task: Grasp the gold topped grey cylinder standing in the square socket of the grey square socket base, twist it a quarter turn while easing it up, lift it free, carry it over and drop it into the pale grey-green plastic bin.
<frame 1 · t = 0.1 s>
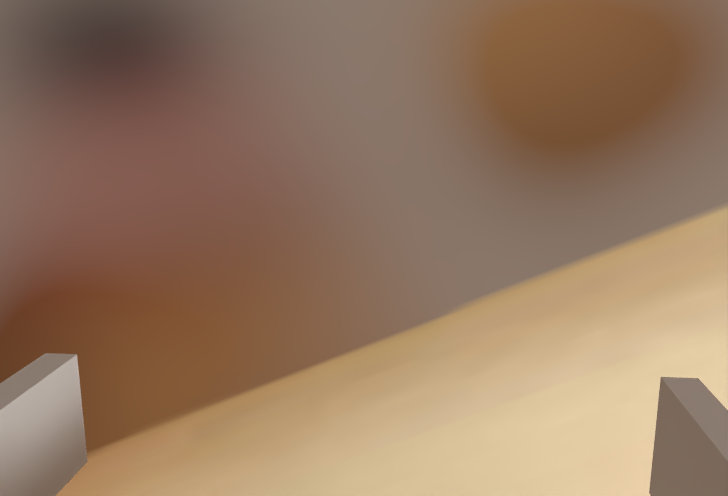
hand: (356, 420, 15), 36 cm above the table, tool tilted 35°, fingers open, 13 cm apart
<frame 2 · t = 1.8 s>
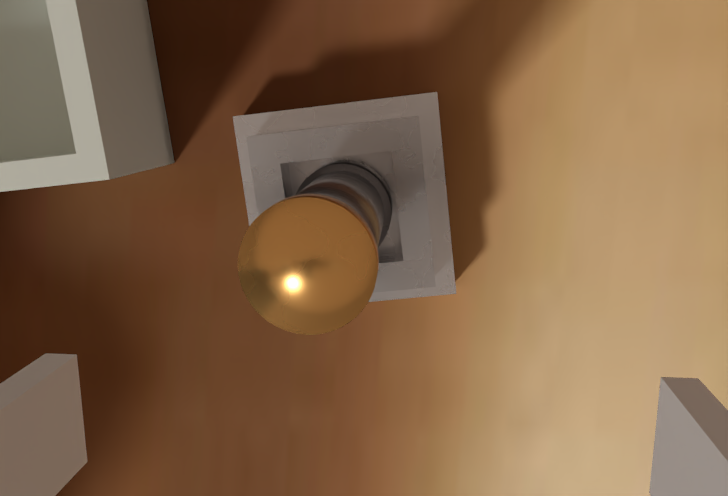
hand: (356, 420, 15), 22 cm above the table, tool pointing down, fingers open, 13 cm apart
grey square socket base: (349, 200, 36), on the table
gold topped grey cylinder: (346, 206, 34), point 2 cm above the table, touching grey square socket base
bin: (20, 43, 36), on the table
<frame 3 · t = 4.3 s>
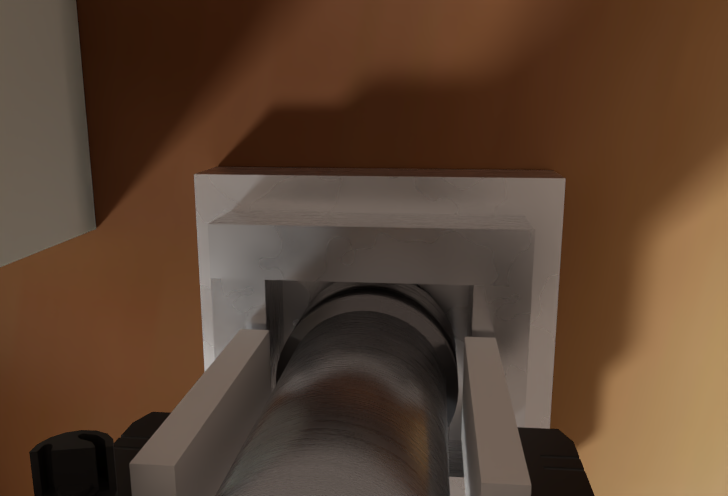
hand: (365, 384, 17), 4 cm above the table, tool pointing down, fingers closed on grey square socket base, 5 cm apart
grey square socket base: (379, 328, 22), on the table
gold topped grey cylinder: (374, 351, 20), point 2 cm above the table, touching grey square socket base
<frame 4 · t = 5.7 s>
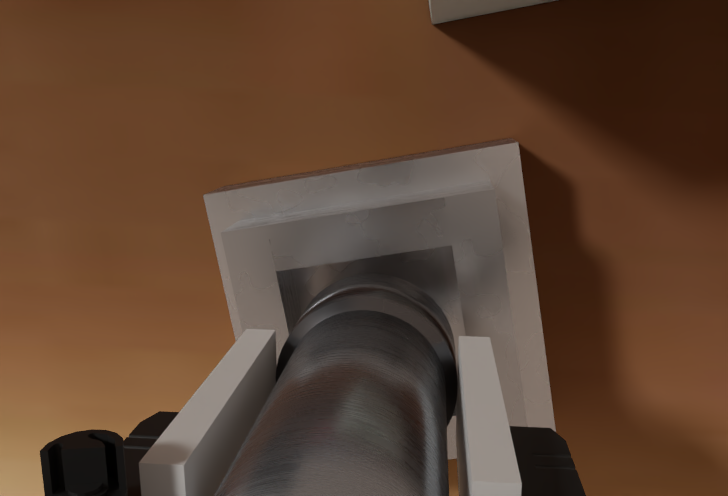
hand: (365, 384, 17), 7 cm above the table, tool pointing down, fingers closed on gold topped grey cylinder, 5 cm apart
grey square socket base: (387, 303, 24), on the table
gold topped grey cylinder: (373, 351, 20), point 5 cm above the table, touching gripper
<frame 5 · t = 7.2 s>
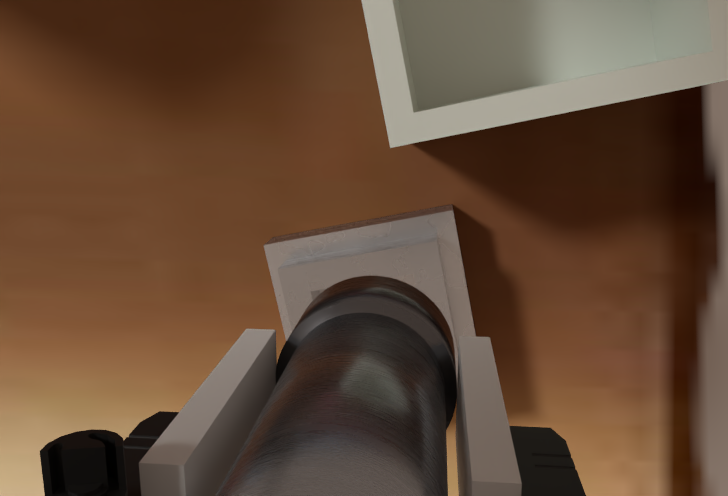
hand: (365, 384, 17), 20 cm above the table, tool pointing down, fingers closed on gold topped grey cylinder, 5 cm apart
grey square socket base: (378, 308, 38), on the table
gold topped grey cylinder: (373, 353, 20), point 18 cm above the table, touching gripper
when the fingers open (9 cm above the table, at t = 9.9 s): gold topped grey cylinder drops 5 cm, point 1 cm above the table.
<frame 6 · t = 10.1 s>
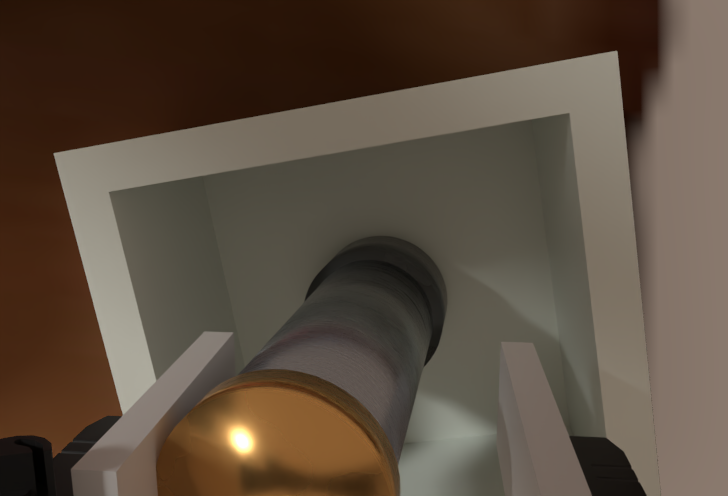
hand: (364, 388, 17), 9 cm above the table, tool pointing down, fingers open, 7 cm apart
gold topped grey cylinder: (382, 298, 25), point 1 cm above the table, touching gripper
bin: (389, 289, 26), on the table
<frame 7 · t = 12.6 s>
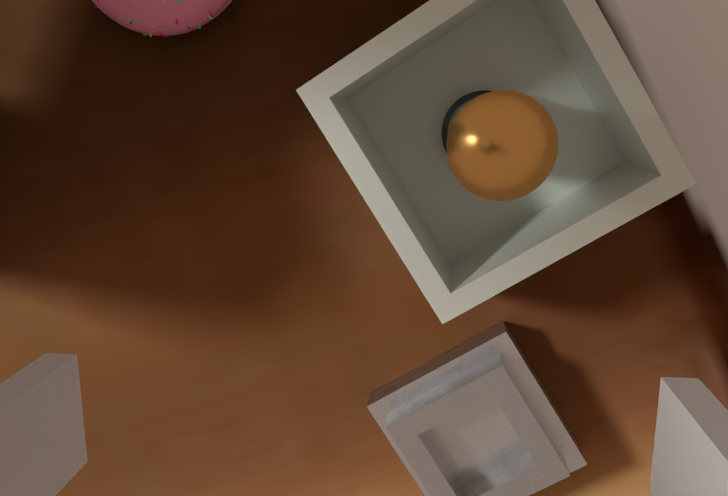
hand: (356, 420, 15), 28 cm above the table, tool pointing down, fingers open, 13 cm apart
grey square socket base: (474, 420, 45), on the table
gold topped grey cylinder: (481, 131, 40), point 1 cm above the table, touching bin
bin: (484, 128, 41), on the table
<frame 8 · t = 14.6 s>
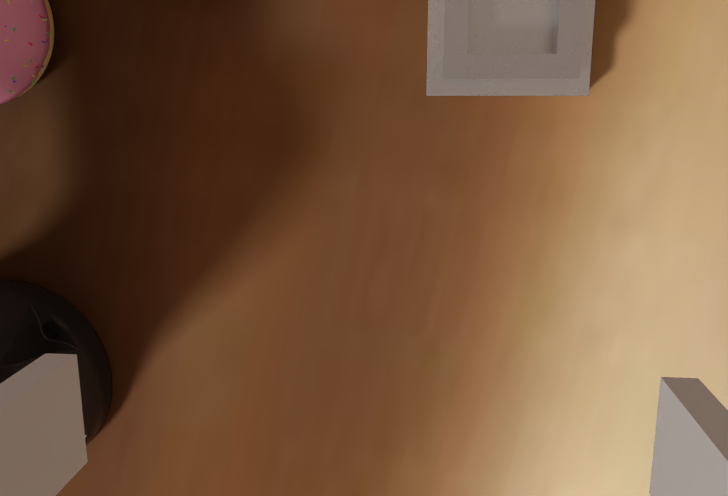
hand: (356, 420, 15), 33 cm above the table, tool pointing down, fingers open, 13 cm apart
grey square socket base: (507, 15, 44), on the table
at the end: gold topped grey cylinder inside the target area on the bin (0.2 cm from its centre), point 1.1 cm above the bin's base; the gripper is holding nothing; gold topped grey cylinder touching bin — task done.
